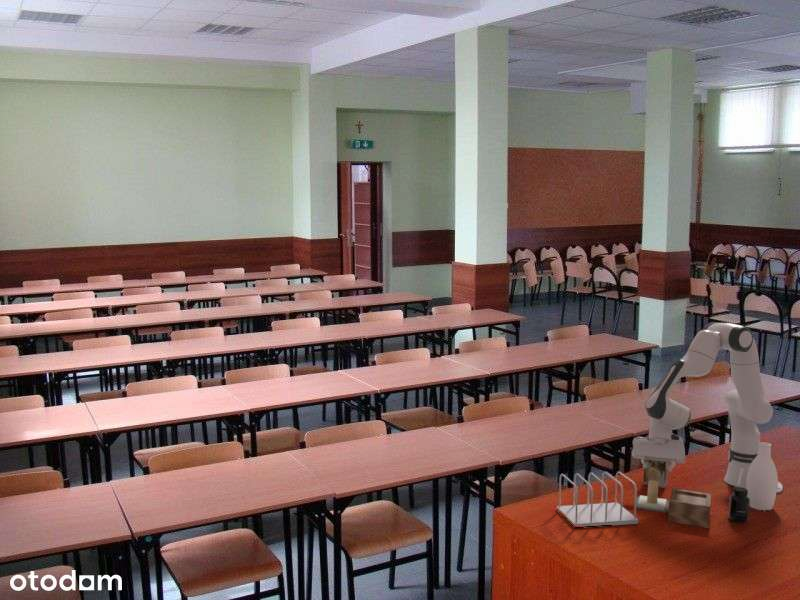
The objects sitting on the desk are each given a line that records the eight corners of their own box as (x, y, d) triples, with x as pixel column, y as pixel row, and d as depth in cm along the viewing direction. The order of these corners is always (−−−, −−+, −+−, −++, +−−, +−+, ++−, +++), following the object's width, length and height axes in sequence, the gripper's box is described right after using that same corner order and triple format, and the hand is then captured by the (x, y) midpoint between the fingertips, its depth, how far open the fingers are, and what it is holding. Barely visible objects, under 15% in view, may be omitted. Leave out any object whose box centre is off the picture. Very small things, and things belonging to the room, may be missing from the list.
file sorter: (616, 506, 300) (619, 468, 298) (638, 525, 283) (641, 484, 281) (555, 510, 295) (557, 471, 293) (574, 529, 278) (576, 487, 276)
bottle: (745, 509, 299) (750, 446, 296) (743, 499, 309) (748, 438, 306) (777, 514, 295) (782, 449, 292) (774, 503, 305) (779, 441, 302)
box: (709, 514, 293) (711, 494, 292) (708, 528, 281) (710, 507, 280) (670, 508, 299) (672, 488, 298) (668, 521, 286) (669, 500, 285)
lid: (666, 501, 304) (667, 479, 303) (664, 510, 295) (665, 488, 294) (640, 497, 308) (641, 475, 307) (637, 506, 299) (638, 484, 298)
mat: (669, 502, 305) (669, 501, 305) (666, 513, 294) (666, 512, 294) (637, 497, 309) (637, 496, 309) (634, 507, 298) (634, 506, 298)
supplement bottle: (739, 524, 284) (742, 493, 283) (724, 518, 290) (726, 487, 289) (752, 521, 287) (754, 490, 286) (736, 515, 293) (739, 484, 292)
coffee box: (667, 483, 326) (669, 446, 324) (665, 488, 320) (667, 451, 318) (645, 479, 330) (647, 443, 328) (642, 484, 324) (644, 447, 322)
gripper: (632, 432, 315) (629, 462, 307) (686, 437, 307) (684, 469, 299) (633, 439, 320) (630, 470, 312) (686, 445, 312) (684, 476, 304)
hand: (657, 469), depth 306 cm, fingers open, 8 cm apart
